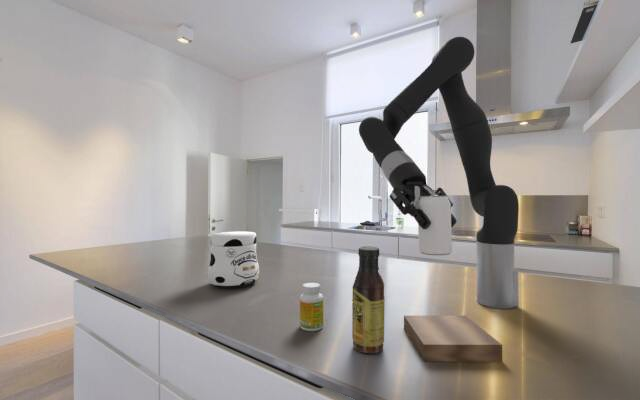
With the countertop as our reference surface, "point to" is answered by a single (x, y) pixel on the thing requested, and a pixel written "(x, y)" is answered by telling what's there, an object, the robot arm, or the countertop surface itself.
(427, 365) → the countertop surface
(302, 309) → the supplement bottle
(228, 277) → the milk container
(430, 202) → the can
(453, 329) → the plinth
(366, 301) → the sauce bottle
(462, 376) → the countertop surface
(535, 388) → the countertop surface
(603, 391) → the countertop surface
